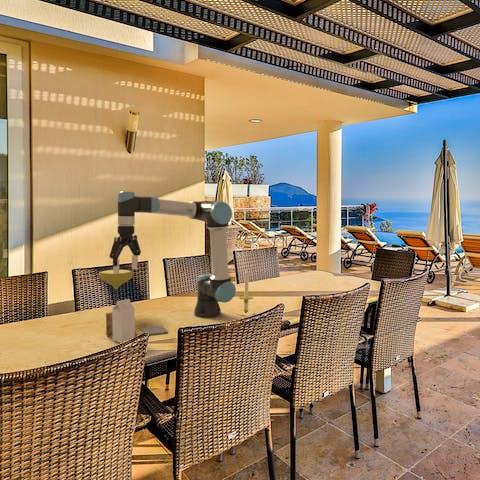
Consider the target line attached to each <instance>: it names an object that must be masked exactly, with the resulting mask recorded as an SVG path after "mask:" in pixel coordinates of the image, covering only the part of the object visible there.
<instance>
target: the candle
mask: <svg viewBox="0 0 480 480" xmlns="http://www.w3.org/2000/svg"><path fill="white" fill-rule="evenodd" d="M249 273H250V272H249V271H248V268H246V269H245V272H244V295H239V296H238V298H239V299H240V300H243V311H244V312H245V313H247V312H248V311H249V300H253V299H254V298H255V297H254V296H253V295H249Z"/></svg>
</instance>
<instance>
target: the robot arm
mask: <svg viewBox="0 0 480 480" xmlns="http://www.w3.org/2000/svg"><path fill="white" fill-rule="evenodd" d="M135 213H143V214H144V213H146V214H147V213H148V214H155V215H156V214H157V215H168V216H170V215H171V216H179V217H188V219H190V220H197V221H201V222H205V223H206V228H207V229H208V230H209V238H210V239H209V240H210V241H209V242H210V255H211V256H210V257H211V260H210V261H211V272H212V273H205V274H200V275H198V276H197V282H196V283H197V286H196V287H197V298H196V299H197V301H196V304H195V307H194V310H193V313H194V314H193V315H194V316H196V317H198V318H204V317H211V318H217V317H219V316H221V315H220V314H221V313H222V311H221V308H220V306H221V305H220V303H222V304H223V303H225V304H226V303H228V302H231V301H232V299H233V298H234V297H235V296H236V291H237V288H236V285H235V284H234V283H233V282H232V276H231V275H230V273H229V265H228V264H229V263H228V245H227V241H228V240H227V229H228V228H229V226H230V225H229V222H230V221H231V220H232V218H233V211H232V208H231V206H230V204H228V203H227V202H224V201H221V200H203V201H196V200H195V201H193V200H190V202H186V201H177V200H169V199H160V198H159V197H156V196H138V195H136V194H135V191H119V192H118V193H117V225H118V226H117V234H118V235H119V236H114V238H113V244H112V246H111V249H110V252H109V256H108V257H109V258H110V259H112V266H113V267H112V268H113V273H119V268H120V259H119V257H120V255H121V254H122V251H123V249H124V248H125V247H127V246H128V248H129V250H130V252H131V253H132V255H131V270H138V263H139V256H140V255H141V253H142V250H141V247H140V244H139V241H138V235H137V234H135V224H136V223H135V222H136V221H135V220H136V218H135V217H136V216H135V215H136V214H135ZM216 316H217V317H216Z"/></svg>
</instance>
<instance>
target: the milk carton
mask: <svg viewBox="0 0 480 480" xmlns="http://www.w3.org/2000/svg"><path fill="white" fill-rule="evenodd" d="M135 312H136V311H135V307H134V305H133V303H132V302H131V299H130V298H127V299H126V298H125V299H121V300H117V304H116V303H115V305H114V306H113V308H112V323H113V335H112V341H113V342H116V341H117V343H119V342H120V343H119V344H122V342H124V341H127V340H130V339H132V338H134V337H135V338H136V332H135V331H136V327H135V325H136V322H135V316H136V315H135Z"/></svg>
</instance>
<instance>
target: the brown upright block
mask: <svg viewBox="0 0 480 480" xmlns="http://www.w3.org/2000/svg"><path fill="white" fill-rule="evenodd" d="M105 324H106V325H105V326H106V327H105V328H106V329H105V330H106V332H105V335H107V336H106V338H112V336H113V323H112V312H106V313H105ZM111 335H112V336H111Z"/></svg>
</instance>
